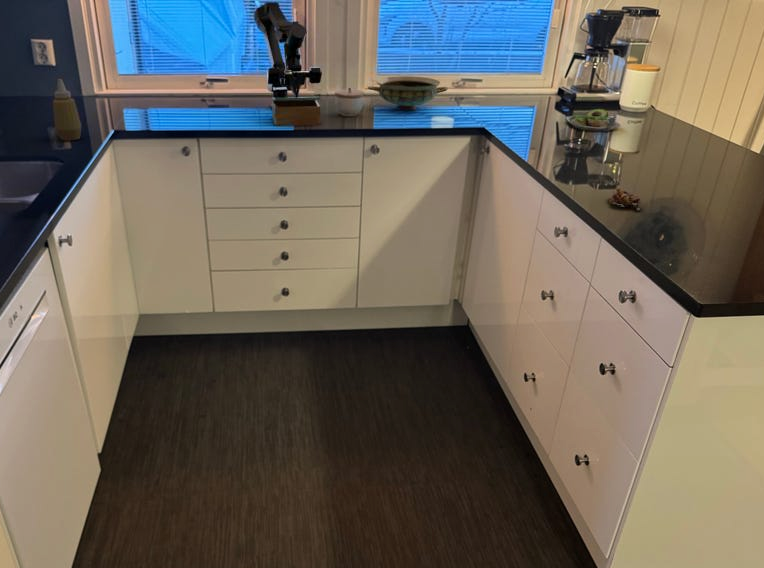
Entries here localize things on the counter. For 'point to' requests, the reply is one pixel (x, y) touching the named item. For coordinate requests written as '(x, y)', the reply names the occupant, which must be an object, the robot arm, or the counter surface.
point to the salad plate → (593, 121)
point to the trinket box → (349, 101)
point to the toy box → (295, 112)
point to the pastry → (624, 199)
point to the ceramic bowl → (408, 90)
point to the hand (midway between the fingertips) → (296, 96)
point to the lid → (297, 98)
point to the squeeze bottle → (66, 114)
